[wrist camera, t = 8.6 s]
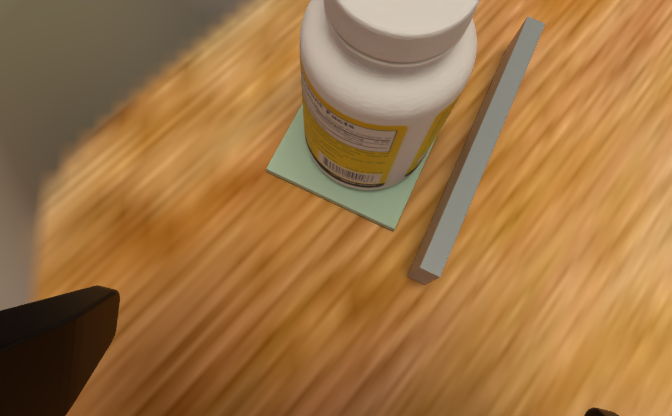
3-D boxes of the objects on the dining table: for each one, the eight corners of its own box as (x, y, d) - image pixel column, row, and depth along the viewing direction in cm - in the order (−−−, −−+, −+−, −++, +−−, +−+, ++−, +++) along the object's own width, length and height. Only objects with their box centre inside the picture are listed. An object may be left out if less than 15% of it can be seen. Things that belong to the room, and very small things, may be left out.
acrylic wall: (424, 284, 20) (440, 277, 18) (407, 276, 20) (419, 267, 18) (521, 56, 23) (545, 23, 21) (505, 50, 23) (527, 16, 21)
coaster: (393, 231, 20) (394, 229, 20) (267, 171, 21) (266, 168, 21) (453, 98, 22) (456, 93, 22) (336, 46, 23) (336, 41, 22)
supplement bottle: (399, 65, 22) (464, -140, 13) (445, 171, 21) (556, 28, 11) (286, 99, 21) (267, -94, 12) (327, 210, 20) (342, 92, 11)
